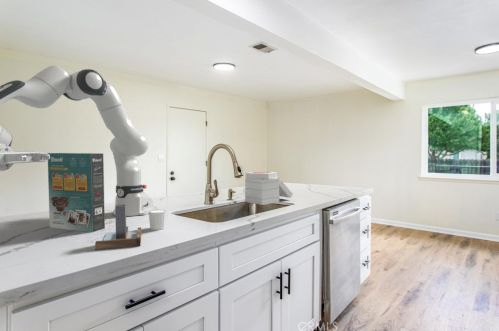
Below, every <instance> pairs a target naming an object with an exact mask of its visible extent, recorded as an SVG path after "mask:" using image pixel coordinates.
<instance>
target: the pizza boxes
mask: <svg viewBox="0 0 499 331" xmlns="http://www.w3.org/2000/svg"><path fill="white" fill-rule="evenodd" d="M278 174H279V172H278V171H252V172H251V171H250V172H245V178H244V182H245V184H244V202H246V203H250V204H255V205H260V206H263V205H271V204H276V203H280V197H283V198H289V199H291V198H292V197H293V192H292V191H291V190H290V189H289V188H288V187H287V185H286V184H285V183H284V182H283V180H281V179H280V178H279V175H278Z"/></svg>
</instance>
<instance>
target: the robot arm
mask: <svg viewBox="0 0 499 331" xmlns="http://www.w3.org/2000/svg"><path fill="white" fill-rule="evenodd" d="M61 96H64V97H65V98H67V99H69V100H71V101H76V102H77V101H78V102H79V101H81V100H86V99H90V100H92V102H94V103H95V105H96V108H97V110H98V112H99V115H100V117H101V118H102V121H103V123H104V125H105V127H106V128H107V130H109V131H110V132H111V133H112V135H113V136H114V137H113V138H112V139H111V141H110V142H109V148H110V151H111V152H112V155H113V160H114V165H115V170H116V172H115V173H116V185H115V193H116V195H115V201H114V208H115V207H116V205H122V204H126V217H131V216H132V217H133V216H134V217H135V216H146V215H149V211H152V210H159V209H158V207H157V206H154V202H153V198H152V197H150V195H148V194H147V193H146V192H144V190H145V189H146V190H147V187H148V186H147V184H142V168H141V166H140V165H139V163H138V160H137V157H141V156H142V155H144V154H145V153H146V152H147V151H148V149H149V142H148V140H147V139H146V137H145V136H143V135H142V134H141V133H140V132H139V130H138V129H137V127H136V126H135V125H134V123H133V121H132V120H131V118H130V116H129V114H128V112H127V110H126V107H125V105H124V104H123V100H122V99H121V96H120V95H119V93H118V92H117V90H116V89H115V87H114V86H113V85H112V84H110V83H107V82H106V80H105V79H104V78H103V76H102V75H101V74H100V73H99V72H98V71H97V70H94V69H89V68H88V69H86V68H85V69H82V70H79V71H75V72H74V73H72V74H71V73H68V72H67V71H66V69H64V68H62V67H61V66H57V65H50V66H48V67H45V68H43V69H42V70H40V71H38V72H37V73H35V75H33V76H32V77H30V78H29V79H27V80H25V81H22V80H19V79H16V80H11V81H9V82H6V83H4V84H1V85H0V106H1V105H3V104H5V103H6V102H8V101H10V100H13V99H14V100H16V101H19V102H21V103H22V104H24V105H26V106H29V107H31V108H36V109H47V108H49V107H50V106H52V105H53V104H55V103H56V102H57V101H58V100H59V99H60V98H61ZM12 142H13V135H12V134H11V133H10V132H9V131H8V130H7V129H6V128H5V127H4V126H3V125H1V124H0V172H4V171H7V170H9V169H10V168H11V167H12V166H13V165H14V164H29V163H44V162H47V161H48V160H49V159H50V155H49V154H48V153H47V152H46V151H44V150H43V151H42V150H40V151H39V150H37V151H35V150H33V151H29V150H27V151H26V150H24V151H14V150H13V149H12V148H11V146H12ZM113 215H114V216H116V214H115V209H114V210H113Z"/></svg>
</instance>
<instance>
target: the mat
mask: <svg viewBox="0 0 499 331" xmlns="http://www.w3.org/2000/svg"><path fill="white" fill-rule="evenodd" d="M137 230H138V229H136V230H135V229H134V230H128V234H127V238H126V239H128V238H137ZM142 231H143V230H142V229H141V232H142ZM104 240H116V231H111V232H106V234H105V235H104V237H103V240H102V241H104ZM134 246H135V247H141V244H140V245H133V247H134ZM122 247H123V248H133V247H132V246H129V247H128V246H122ZM122 247H121V248H120V247H118V248H117V247H116V248H115V247H114V248H113V247H111V248H110V249H109V248H108V249H106V248H102V249H101V248H100V249H101V250H112V248H113V249H123V248H122ZM100 249H99V250H98V251H101V250H100Z"/></svg>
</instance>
